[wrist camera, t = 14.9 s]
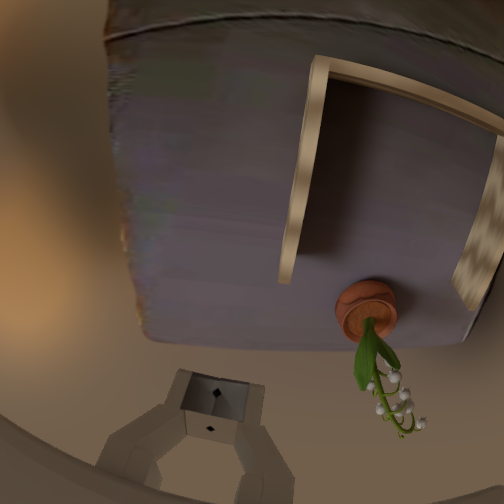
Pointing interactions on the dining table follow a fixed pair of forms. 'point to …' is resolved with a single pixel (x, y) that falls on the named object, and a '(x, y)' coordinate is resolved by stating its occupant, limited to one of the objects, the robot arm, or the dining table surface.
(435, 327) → the dining table surface
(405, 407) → the potted flower
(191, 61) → the dining table surface
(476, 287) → the open wooden planter box
